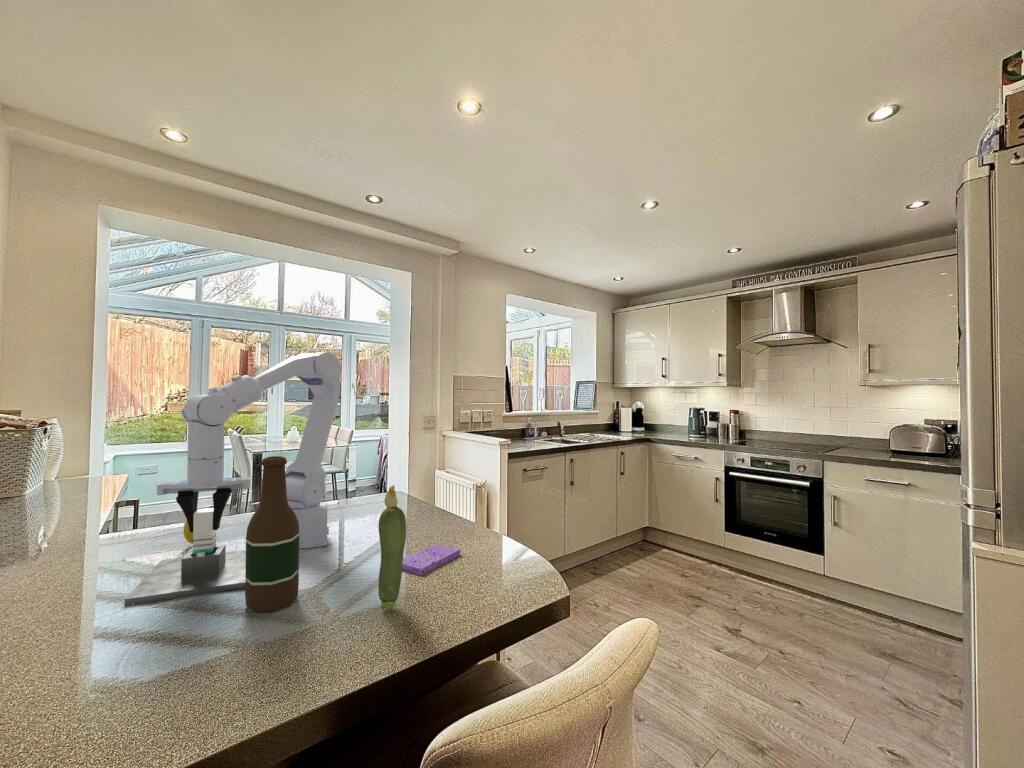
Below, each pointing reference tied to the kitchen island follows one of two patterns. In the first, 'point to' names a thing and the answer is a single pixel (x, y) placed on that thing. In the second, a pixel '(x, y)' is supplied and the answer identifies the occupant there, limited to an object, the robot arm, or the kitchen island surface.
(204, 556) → the stand base
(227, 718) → the kitchen island surface
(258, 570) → the beer bottle
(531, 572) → the kitchen island surface
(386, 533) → the vegetable
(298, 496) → the robot arm
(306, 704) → the kitchen island surface
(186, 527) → the lemon
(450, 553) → the sponges
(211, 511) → the post
